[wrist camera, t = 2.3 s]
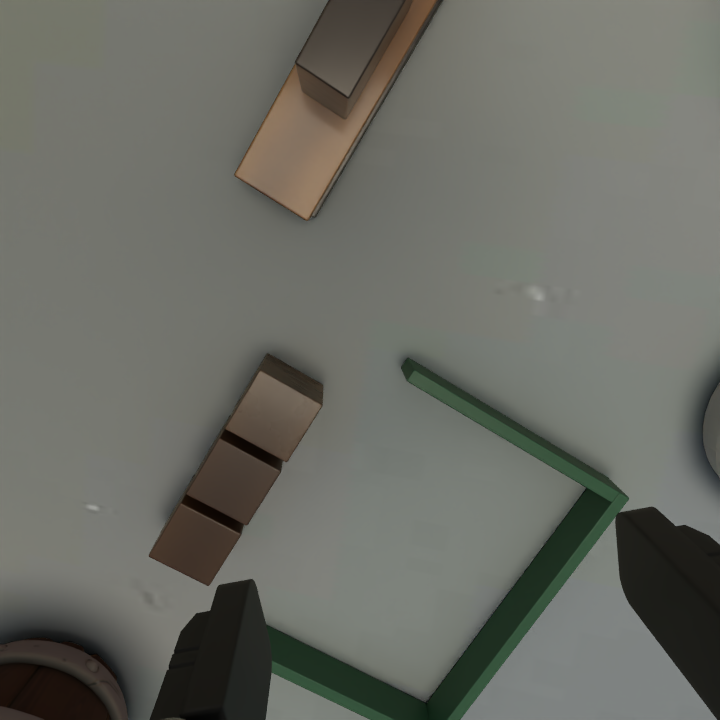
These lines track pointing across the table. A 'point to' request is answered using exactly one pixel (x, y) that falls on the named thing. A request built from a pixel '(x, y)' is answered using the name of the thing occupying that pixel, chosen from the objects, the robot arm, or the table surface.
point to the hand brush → (332, 98)
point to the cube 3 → (276, 408)
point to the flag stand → (713, 431)
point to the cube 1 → (196, 539)
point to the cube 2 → (234, 476)
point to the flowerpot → (56, 683)
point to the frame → (512, 618)
